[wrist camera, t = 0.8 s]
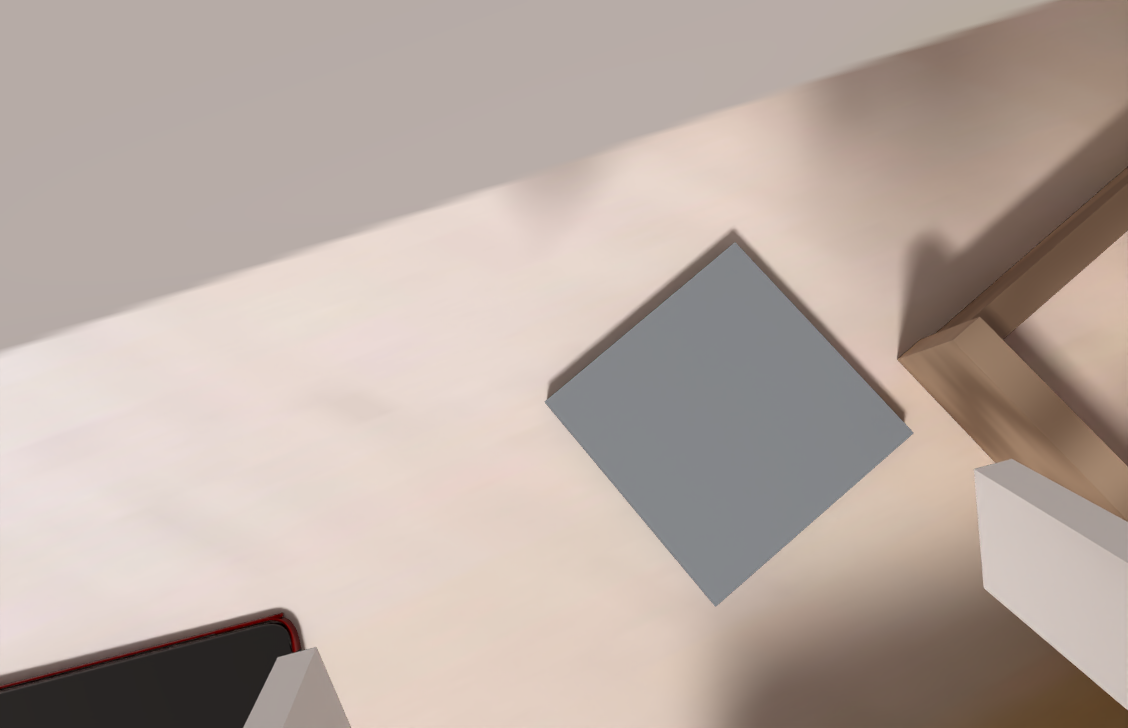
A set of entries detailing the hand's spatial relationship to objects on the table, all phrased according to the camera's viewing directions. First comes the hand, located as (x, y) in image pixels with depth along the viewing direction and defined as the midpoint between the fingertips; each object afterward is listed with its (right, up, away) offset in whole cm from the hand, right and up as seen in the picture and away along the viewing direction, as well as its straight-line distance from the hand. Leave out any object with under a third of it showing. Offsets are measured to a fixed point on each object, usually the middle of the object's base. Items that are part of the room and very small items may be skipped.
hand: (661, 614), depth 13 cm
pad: (+6, +2, +19) cm, 20 cm away
